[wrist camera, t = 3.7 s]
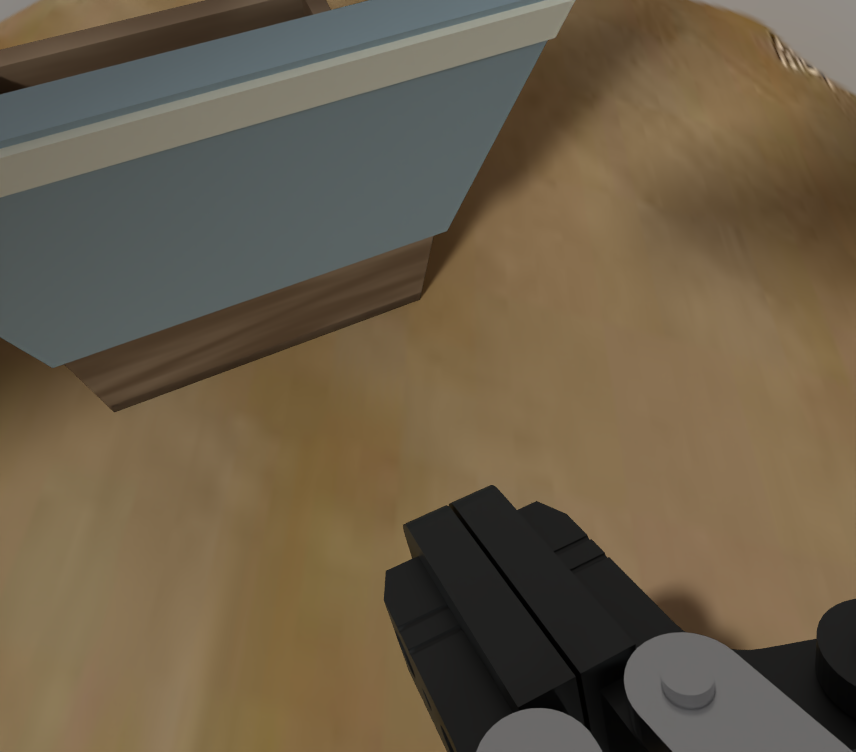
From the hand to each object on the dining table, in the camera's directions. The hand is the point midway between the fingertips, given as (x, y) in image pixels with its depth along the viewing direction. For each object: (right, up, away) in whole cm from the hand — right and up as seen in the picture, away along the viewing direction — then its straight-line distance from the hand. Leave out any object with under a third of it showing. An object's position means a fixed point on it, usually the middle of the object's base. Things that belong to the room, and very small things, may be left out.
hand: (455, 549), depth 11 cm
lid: (-7, +9, +13) cm, 17 cm away
